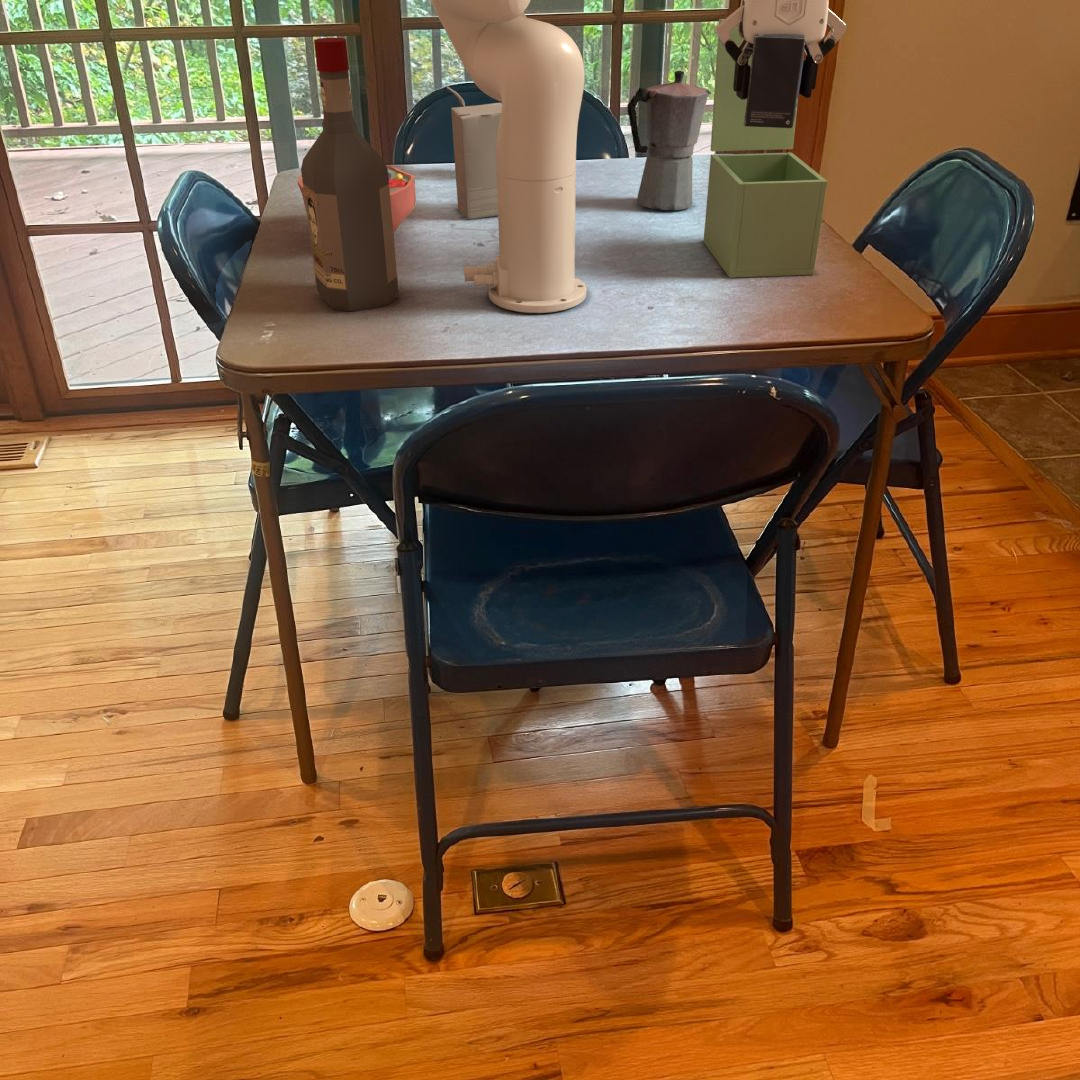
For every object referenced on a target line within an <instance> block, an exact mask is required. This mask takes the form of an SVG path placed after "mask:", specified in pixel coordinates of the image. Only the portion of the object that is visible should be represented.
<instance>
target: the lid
mask: <svg viewBox="0 0 1080 1080" xmlns="http://www.w3.org/2000/svg"><path fill="white" fill-rule="evenodd" d="M725 19H726V18H719V19H718V24H720V23H721V22H722V21H723V20H725ZM730 36H731V38H732V40H733V42H734V43H735V44H736V45H737V46H739V44H740V43H741V41H742V39H743V38H742V37H740V35H739V32H738V25H737V26H735V27H734V28H733V29H732V30H731V31H730ZM715 59H716V60H715V73H714V74H715V75H714V90H713V106H712V121H711V138H710V152H742V151H744V152H746V151H776V150H778V151H779V150H793V149H794V142H795V132H796V123H797V121H796V120H797V113H798V107H797V108H796V114H795V119H794V123H793V127H792V128H775V127H751V126H744V120H745V112H746V105H747V98H746V99H744V100H741V99H740V98H739V97H738V96H737V95H736V91H734V90H733V83H734V72H735V61H734V60H733V59H732V57H731V56H730V55H729V54H728V53H727V51H726V50H725V49H724V47H723V45H722V43H721V42H720V40H719V39H718V38H717V45H716V57H715ZM751 61H752V55H751V56H750V58H749V59H748V65H749V66H750V67H751ZM749 80H750V79H749ZM798 103H799V101H798V102H797V104H798Z"/></svg>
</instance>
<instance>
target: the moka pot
mask: <svg viewBox="0 0 1080 1080" xmlns="http://www.w3.org/2000/svg"><path fill="white" fill-rule="evenodd" d="M684 75H685V72H684V71H682V70H675V71H674V81H672V82H668V83H662V84H657V85H653V86H649V87H647V88H643V87H639V88H638V90H636V92H635V95H633V96H632V97H631V99H630V100H629V102H628V104H627V107H626V108H627V115H628V117H629V118H628V119H629V125H630V131H631V137H632V143H633V148H634V152H635V153H640V154H644V153H645V154H646V153H647V156H646V159H645V163H644V167H643V172H642V175H641V180H640V185H639V189H638V193H637V198H636V201H637V203H638V204H639V205H641V206H642V207H645V208H649V209H653V210H659V211H660V210H662V211H681V210H687V209H689V208H690V207H692V204H693V163H694V160H693V157H692V156H693V155H694V150H695V145H696V144H697V143H698V140H699V136H700V131H701V127H702V123H703V118H704V115H705V110H706V106H707V101H708V98H709V96H710V95H711V94H712V92H711V90H710V89H708V88H706V87H701V86H696V85H691V84H688V83H685V82H683V79H684ZM640 101H641V102H643V103H646V138H647V141H648V145H641V144H642V143H641V140H640V137H639V127H638V115H637V110H636V107H637V105H638V103H639V102H640Z"/></svg>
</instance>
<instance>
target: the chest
mask: <svg viewBox="0 0 1080 1080" xmlns="http://www.w3.org/2000/svg"><path fill="white" fill-rule="evenodd" d="M827 187H828V180H827V179H826V178H824V177H823V176H821V175H820V173H818V172H817V171H815V170H814V169H813V168H812V167H811V166H810V165H808V164H806V162H804V160H802V159H801V158H799V157H798V156H797V155H795V153H793V152H791V151H790V152H789V151H788V152H757V153H753V152H752V153H721V154H711V155H710V160H709V173H708V182H707V195H706V207H705V208H706V209H705V217H704V231H703V243H704V245H705V246H706V247H707V249H708V250H709V252H710V253H711V255H712V256H713V258H715V260H716V261H717V263H718V264H719V265H720V267H721V268H722V270H723V271H724V272H725V274H726V275H727V276H728V278H730V279H734V278H735V279H736V278H738V279H739V278H758V277H759V278H762V277H789V276H813V275H814V273H815V267H816V261H817V256H818V255H817V254H818V249H819V247H818V246H819V240H820V234H821V227H822V221H823V215H824V208H825V202H826V201H825V200H826V194H827V189H828V188H827Z"/></svg>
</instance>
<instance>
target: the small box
mask: <svg viewBox="0 0 1080 1080" xmlns="http://www.w3.org/2000/svg"><path fill="white" fill-rule="evenodd" d="M804 45H805V36H804V35H798V34H756V35H755V36H754V42H753V51H752V61H751V70H750V80H749V89H748V97H747V105H746V112H745V120H744V126H751V127H775V128H792V127H793V123H794V119H795V114H796V115H797V113H796V108H797V109H798V103H799V95H800V94H799V88H800V81H801V74H802V67H803V60H805V59H804V57H805V51H804ZM797 102H798V103H797Z"/></svg>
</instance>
